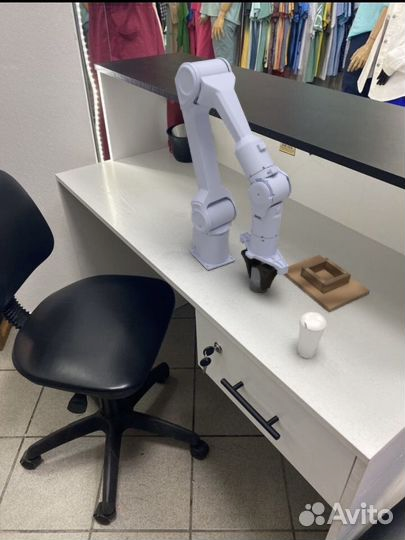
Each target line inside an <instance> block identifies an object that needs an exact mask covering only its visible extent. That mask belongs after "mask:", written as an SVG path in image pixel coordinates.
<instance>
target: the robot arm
mask: <svg viewBox="0 0 405 540" xmlns="http://www.w3.org/2000/svg"><path fill="white" fill-rule="evenodd" d="M174 84H175V88H176V93H177V98H178V102H179V107H180V108H179V109H180V110H181V113H182V118H183V121H184V126H185V132H186V136H187V142H188V147H189V150H190V151H189V152H190V155H191V160H192V166H193V170H194V175H195V179H196V183H197V189H198V190H197V192H196V193H195V195H194V196H193V197H192V199H191V201H190V206H191V222H192V225H193V228H192V249H189V252H190V254H191V255H192V256H193V257H194V258H195V259H196V260H197V261H198V262H199V263H200V264H201V265H202V266H203V267H204V268H205V269H206V270H208V271H210V270H211V271H212V270H214V269H217V268H218V267H222V266H225V265H229V264H231V263H233V262H234V263H235V261H236V259H235V258H234V257H233V256H232V255H231V254H230V252H229V244H230V243H229V242H230V227H232V225H233V221H235V220H236V219H237V216H238V208H237V204H236V203H235V200H234V198H233V194H232V191H231V190H229V189H228V188H226V187H225V186H223V185H222V178H221V175H220V169H219V163H218V157H217V153H216V151H217V150H216V146H215V140H214V135H213V131H212V125H211V120H210V110H211V109H215V110H216V112H217V113H218V115H219V116H220V118H221V120H222V122H223V123H224V125H225V127H226V128H227V130H228V133H230V135H231V137H232V139H233V141H234V142H235V150H234V156H235V158H236V159H237V162H238V164H239V165H240V167H241V170H242V171H243V174H244V175H245V177H246V179H247V182H248V184H249V186H250V187H249V188H247V195H248V199H249V201H250V205H251V207H250V210H251V213H252V214H251V215H252V218H251V225H250V226H251V228H250V233H249V232H248V231H247V232H243V233H241V234H239V242H240V243H241V244H244V246H245V248H244V249H242V250H241V251H240V255H241V256H242V258H243V261H244V263H245V267H246V269H247V270H246V271H247V276H248V278H249V280H251V270H252V264H253V263H254V262H257V261H262V262H265V263H266V264H262V265H259V266H258V267H257V268H258V270H259V273H260V287H261V290H266V289H267V290H269V289H270V288H271V286H272V284H273V281H274V280H275V279H276V277H277V275H279V276H283V274H285V273H288V267H289V266H290V265H289V264H288V263H287V262H286V261H285V259H284V258H283V256H282V254H281V252H280V250H279V249H278V244H279V236H280V230H281V224H282V223H281V222H282V215H283V208H284V201H285V200H286V199H288V198H289V197H290V196H291V193H292V187H293V186H292V182H291V179H290V177H289V175H288V174H287V173H286V172H285V171H283V170H282V169H280V167H279V166H277V165H275V162H274V161H273V159H272V157H271V155H270V153H269V150H268V149H267V144H266V143H265V141H263V139H262V137H260V136H257V135H255V134H253V133H252V130H251V127H250V126H249V122H248V120H247V117H246V115H245V112H244V110H243V108H242V106H241V103H240V100H239V98H238V95H237V93H236V91H235V85H236V76H235V74H234V72H233V71H232V67H231V64H230V63H229V61H228V60H227V59H225V58H224V57H219V56H218V57H216V58H212V59H208V60H201V61H199V60H198V61H193V62H189V61H188V62H183V63H182V64H181V65H180V66H179V67H178V70H177V72H176V74H175V77H174Z"/></svg>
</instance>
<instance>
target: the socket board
mask: <svg viewBox="0 0 405 540" xmlns="http://www.w3.org/2000/svg"><path fill="white" fill-rule="evenodd" d="M283 275H284V276H285V277H286V278H287V279H288V280H289V281H291V283H293V284H294V285H295V286H297V288H298V289H300V290H301V291H302V292H304V294H306V295H307V296H309V297H310V298H311V299H312V300H313V301H315V302H316V303H317V304H318V305H319V306H321V308H323V309H324V310H325V311H327V312H328V313H331V312H333V311H335V310H338V309H340V308H342V307H344V306H346V305H348V304H350V303H352V302H354V301H356V300H359V299H361V298H363V297H365V296H367V295H369V294H370V291H371V290H369V289H368V288H367V287H365V286H364V285H363V284H362V283H360V282H358V281H357V280H355V279H354V278H353V277H352V274H351V273H350V272H348V271H347V270H345V269H344V268H342V267H341V266H339V265H338V264H337V263H336V262H333V260H331V259H329V258H328V257H323V256H322V255H320V254H317V255H314V256H312V257H309V258H307V259H304V260H302V261H299V262H296V263H294V264H291V265H289V267H288V273H285V274H283ZM283 275H282V276H283Z"/></svg>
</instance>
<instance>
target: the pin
mask: <svg viewBox="0 0 405 540" xmlns="http://www.w3.org/2000/svg"><path fill="white" fill-rule="evenodd" d="M262 264H266V263H265V262H262V261H257V262H254V263H253V264H252V270H251V279H249V281H250V282H249V288H250V291H252V292H253V293H256V294H263V293H266V292H267V291H268V289H266V290H261V287H260V273H259V270H258V268H257V267H258V266H259V265H262Z"/></svg>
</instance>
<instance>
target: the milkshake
mask: <svg viewBox="0 0 405 540" xmlns="http://www.w3.org/2000/svg"><path fill="white" fill-rule="evenodd" d="M299 318H300V319H299V330H298V341H297V354H298V355H299V356H300V357H301V358H304V359H306V360H307V359H313V357H314V356H315V355H316V353H317V350H318V348H319V345H320V342H321V339H322V337H323V335H324V332H325V330H326V328H327V324H328V323H327V322H328V321H327V320H326V319H325V317H324V316H323V315H322V314H321V313H319V312H316V311H307V312H305V313H303V314H302V315H300V317H299Z"/></svg>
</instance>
